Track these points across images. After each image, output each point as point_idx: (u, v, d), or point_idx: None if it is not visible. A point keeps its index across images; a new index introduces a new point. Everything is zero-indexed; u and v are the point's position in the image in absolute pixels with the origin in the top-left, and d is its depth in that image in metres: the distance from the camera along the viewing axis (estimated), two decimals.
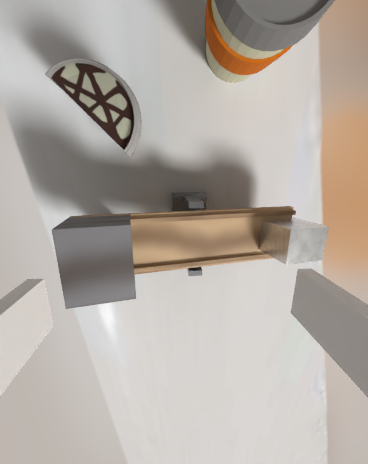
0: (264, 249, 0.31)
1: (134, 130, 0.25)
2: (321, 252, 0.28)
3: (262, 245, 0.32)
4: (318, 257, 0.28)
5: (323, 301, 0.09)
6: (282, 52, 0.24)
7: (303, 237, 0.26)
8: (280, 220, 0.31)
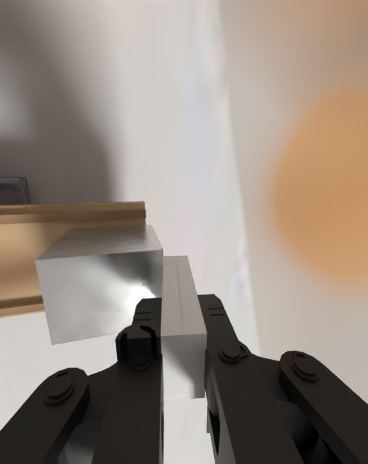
0: None
1: None
2: None
3: None
4: None
5: None
6: None
7: (86, 279, 0.10)
8: (103, 230, 0.15)
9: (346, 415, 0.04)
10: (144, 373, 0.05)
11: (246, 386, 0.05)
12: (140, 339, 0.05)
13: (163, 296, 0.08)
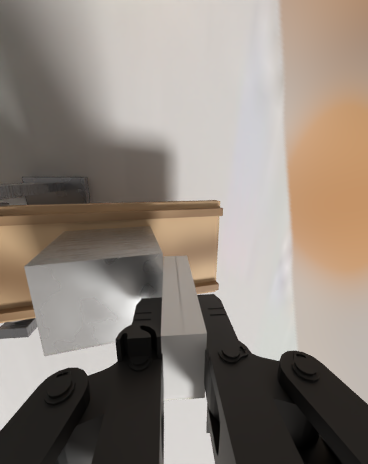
0: None
1: None
2: None
3: None
4: None
5: None
6: None
7: (81, 285, 0.10)
8: (100, 232, 0.14)
9: (346, 415, 0.04)
10: (144, 373, 0.05)
11: (246, 386, 0.05)
12: (140, 339, 0.05)
13: (163, 296, 0.08)
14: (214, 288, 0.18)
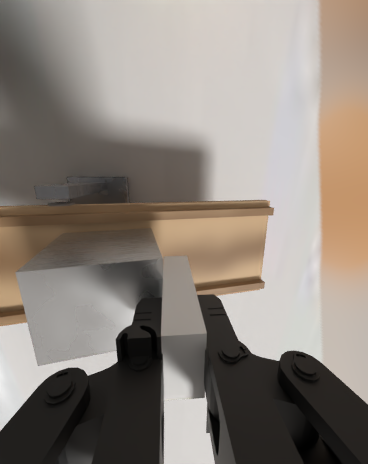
0: None
1: None
2: None
3: None
4: None
5: None
6: None
7: (75, 292, 0.09)
8: (99, 234, 0.13)
9: (346, 415, 0.04)
10: (144, 373, 0.05)
11: (246, 386, 0.05)
12: (140, 339, 0.05)
13: (163, 296, 0.08)
14: (260, 286, 0.18)
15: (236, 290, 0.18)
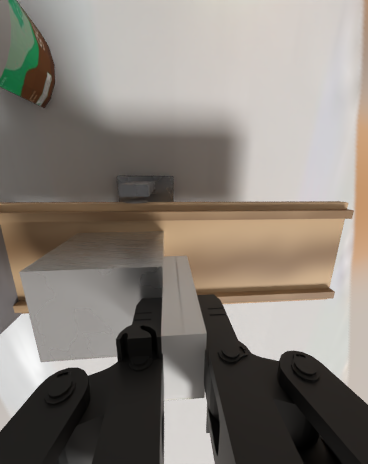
0: None
1: None
2: None
3: None
4: None
5: None
6: None
7: (74, 295, 0.09)
8: (110, 236, 0.13)
9: (346, 415, 0.04)
10: (144, 373, 0.05)
11: (245, 386, 0.05)
12: (141, 339, 0.05)
13: (163, 296, 0.08)
14: (329, 296, 0.17)
15: (302, 297, 0.17)
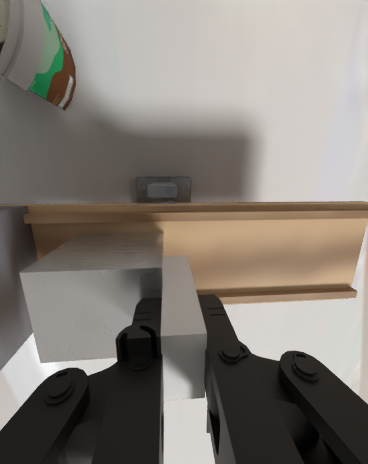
0: None
1: (15, 19, 0.11)
2: None
3: None
4: None
5: None
6: None
7: (74, 296, 0.09)
8: (110, 237, 0.14)
9: (346, 415, 0.04)
10: (144, 373, 0.05)
11: (246, 386, 0.05)
12: (140, 339, 0.05)
13: (163, 296, 0.08)
14: (352, 295, 0.17)
15: (325, 297, 0.17)
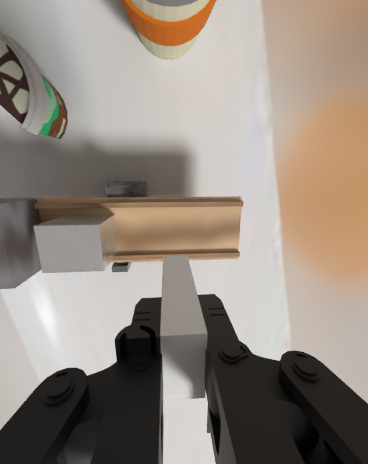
0: None
1: (32, 103, 0.22)
2: (98, 260, 0.20)
3: None
4: (96, 266, 0.21)
5: None
6: (199, 14, 0.21)
7: (58, 238, 0.20)
8: (82, 216, 0.24)
9: (347, 415, 0.04)
10: (144, 373, 0.05)
11: (246, 386, 0.05)
12: (140, 339, 0.05)
13: (163, 296, 0.08)
14: (236, 255, 0.27)
15: (219, 256, 0.27)
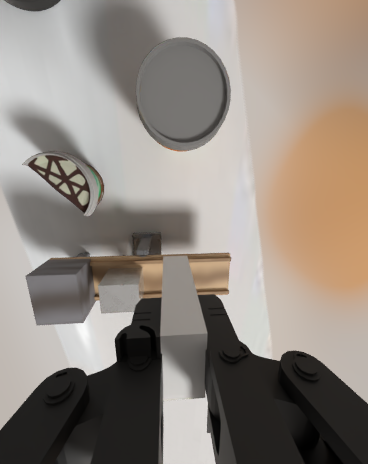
0: None
1: (91, 200, 0.33)
2: None
3: None
4: None
5: None
6: None
7: (112, 292, 0.31)
8: (121, 270, 0.36)
9: (347, 415, 0.04)
10: (143, 373, 0.05)
11: (247, 386, 0.05)
12: (139, 339, 0.05)
13: (163, 296, 0.08)
14: (226, 293, 0.39)
15: (214, 293, 0.39)
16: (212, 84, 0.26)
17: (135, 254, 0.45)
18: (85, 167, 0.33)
